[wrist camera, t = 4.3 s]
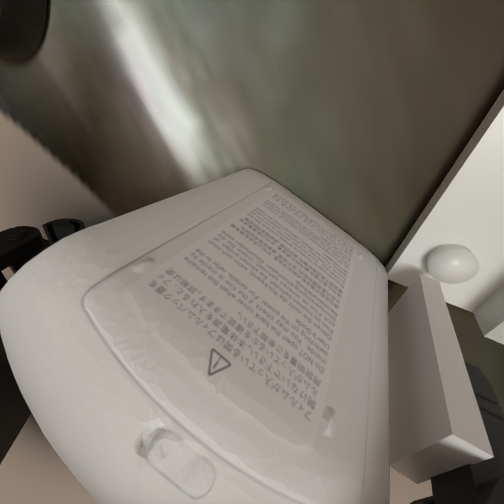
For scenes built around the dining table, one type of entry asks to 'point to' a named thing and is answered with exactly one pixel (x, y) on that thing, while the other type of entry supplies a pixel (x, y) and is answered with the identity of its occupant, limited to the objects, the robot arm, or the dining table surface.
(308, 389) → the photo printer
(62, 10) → the dining table surface
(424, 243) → the dock plate
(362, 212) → the dining table surface
